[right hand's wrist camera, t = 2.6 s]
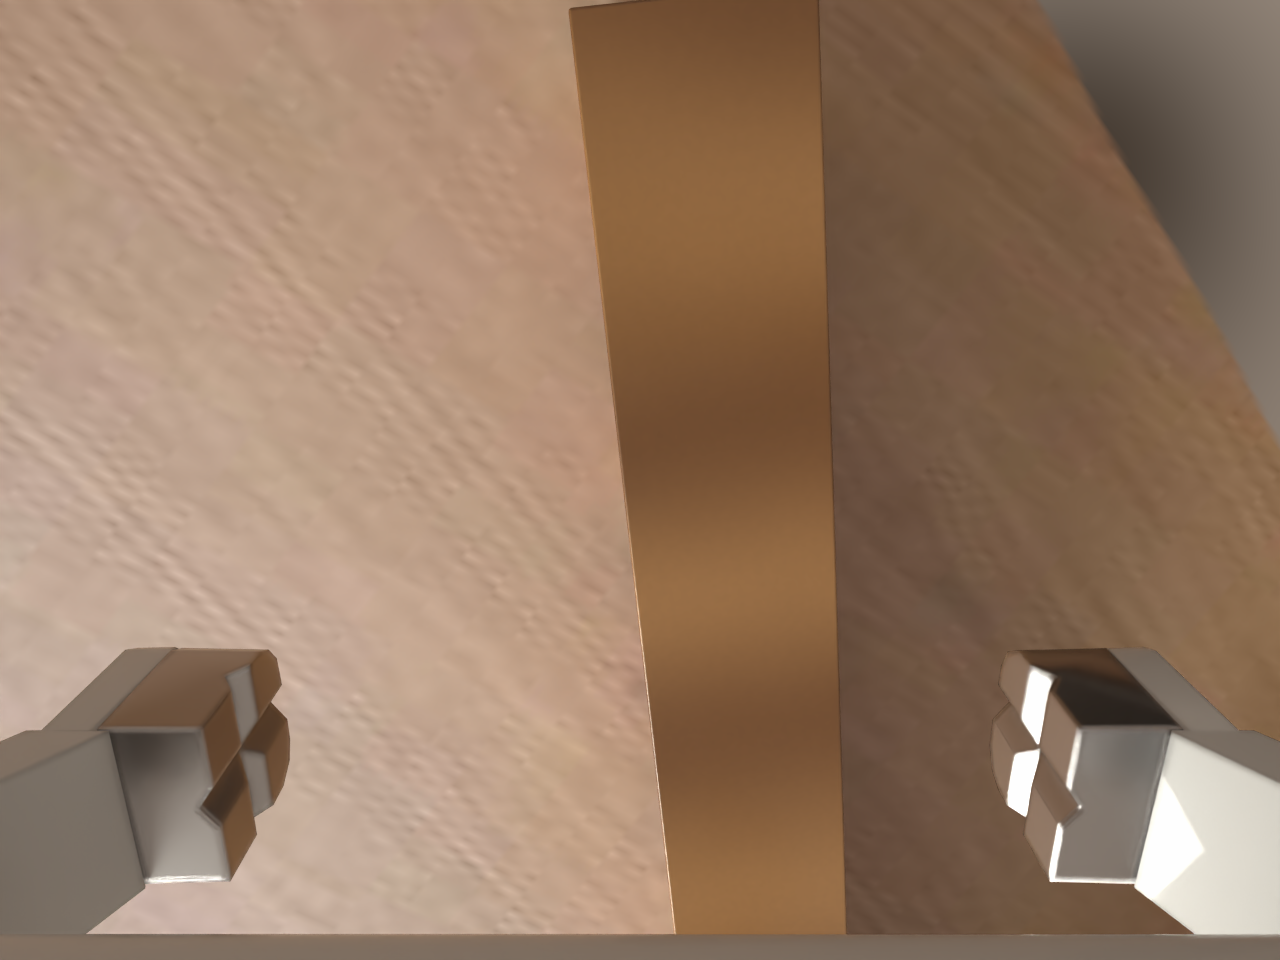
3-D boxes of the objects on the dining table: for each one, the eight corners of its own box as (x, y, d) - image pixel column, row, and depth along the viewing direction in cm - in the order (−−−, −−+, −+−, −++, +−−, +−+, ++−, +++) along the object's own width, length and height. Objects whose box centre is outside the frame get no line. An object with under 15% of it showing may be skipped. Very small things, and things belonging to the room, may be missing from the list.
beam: (584, 54, 26) (567, 7, 17) (753, 36, 26) (819, -20, 17) (718, 1267, 44) (742, 1527, 35) (817, 1258, 44) (864, 1516, 35)
